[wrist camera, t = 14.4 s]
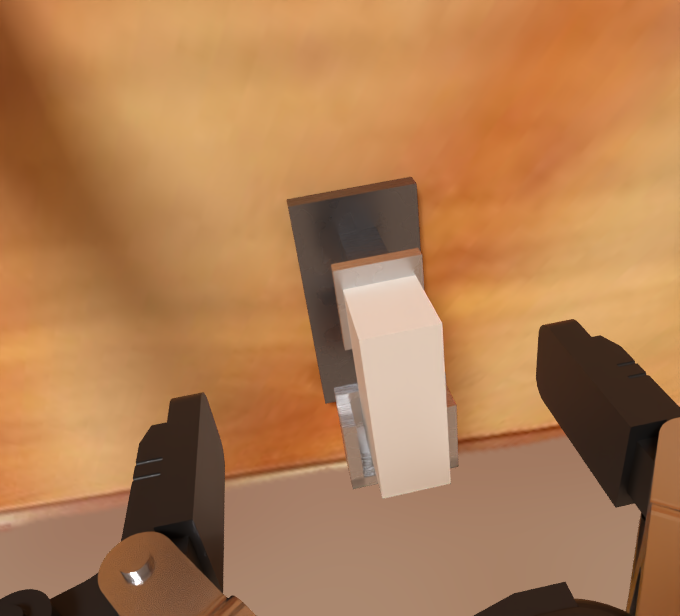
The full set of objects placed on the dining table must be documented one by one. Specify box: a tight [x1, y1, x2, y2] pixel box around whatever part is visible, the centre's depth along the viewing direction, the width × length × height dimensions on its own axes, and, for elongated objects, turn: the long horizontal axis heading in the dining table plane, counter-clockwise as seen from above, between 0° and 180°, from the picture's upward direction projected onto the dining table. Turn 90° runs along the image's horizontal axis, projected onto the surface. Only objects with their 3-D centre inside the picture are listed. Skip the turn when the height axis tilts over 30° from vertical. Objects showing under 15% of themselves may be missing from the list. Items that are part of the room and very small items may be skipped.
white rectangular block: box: [343, 275, 451, 498], centre depth 41 cm, size 5×14×6 cm, turn 8°
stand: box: [287, 177, 458, 489], centre depth 47 cm, size 10×20×12 cm, turn 7°
